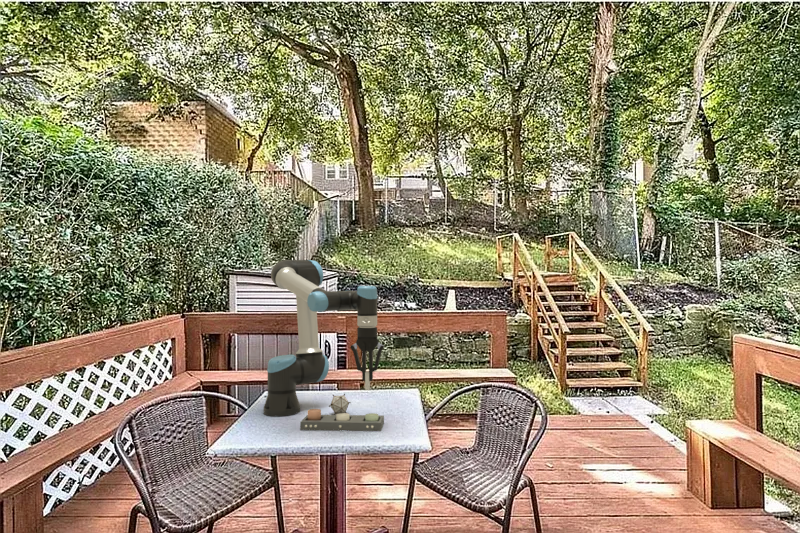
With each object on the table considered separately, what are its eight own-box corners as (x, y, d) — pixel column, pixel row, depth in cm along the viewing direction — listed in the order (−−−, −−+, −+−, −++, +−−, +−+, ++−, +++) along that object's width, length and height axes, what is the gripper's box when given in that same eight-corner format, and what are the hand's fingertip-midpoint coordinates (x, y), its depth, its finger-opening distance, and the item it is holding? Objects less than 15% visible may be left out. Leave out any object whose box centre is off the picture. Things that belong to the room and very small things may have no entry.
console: (299, 430, 204) (299, 422, 204) (307, 422, 215) (307, 414, 215) (380, 431, 202) (380, 423, 202) (384, 423, 213) (383, 415, 213)
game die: (342, 423, 227) (345, 407, 221) (324, 415, 229) (326, 399, 223) (351, 409, 234) (355, 392, 229) (333, 401, 236) (336, 385, 230)
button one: (335, 426, 206) (335, 416, 207) (337, 422, 211) (337, 412, 212) (348, 426, 206) (348, 416, 206) (350, 423, 211) (350, 413, 211)
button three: (306, 422, 207) (306, 411, 207) (309, 418, 212) (309, 408, 212) (319, 422, 207) (319, 412, 207) (322, 418, 212) (322, 408, 212)
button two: (364, 426, 206) (364, 416, 206) (366, 423, 211) (366, 413, 211) (377, 426, 205) (377, 416, 205) (379, 423, 210) (379, 413, 210)
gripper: (348, 327, 206) (348, 391, 205) (383, 327, 205) (383, 391, 204) (351, 325, 213) (352, 387, 213) (385, 325, 212) (385, 387, 212)
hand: (367, 389), depth 209 cm, fingers closed
